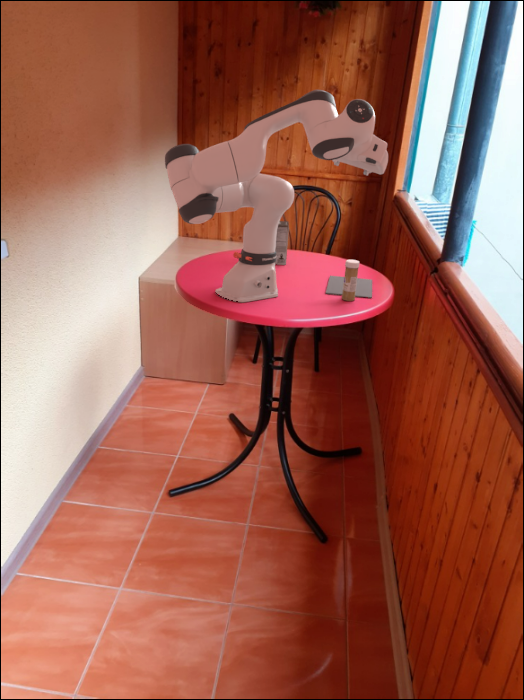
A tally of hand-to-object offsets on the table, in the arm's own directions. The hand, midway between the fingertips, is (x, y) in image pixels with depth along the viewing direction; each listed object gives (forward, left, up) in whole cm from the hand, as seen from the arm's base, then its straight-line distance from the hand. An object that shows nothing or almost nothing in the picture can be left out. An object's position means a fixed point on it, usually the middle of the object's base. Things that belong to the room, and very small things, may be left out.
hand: (351, 168), depth 173 cm
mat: (+17, +7, -43) cm, 47 cm away
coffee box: (+21, +47, -43) cm, 67 cm away
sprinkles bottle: (+5, -1, -43) cm, 43 cm away
